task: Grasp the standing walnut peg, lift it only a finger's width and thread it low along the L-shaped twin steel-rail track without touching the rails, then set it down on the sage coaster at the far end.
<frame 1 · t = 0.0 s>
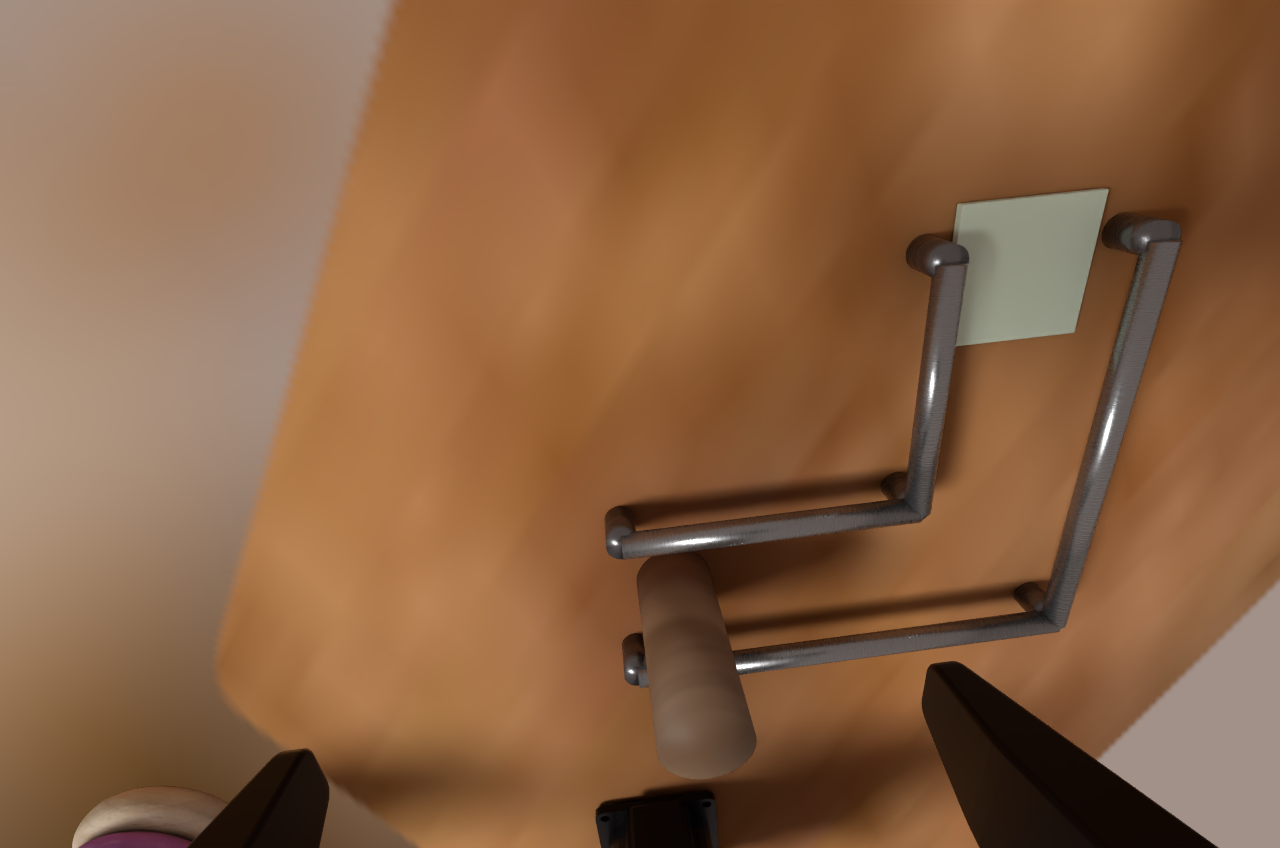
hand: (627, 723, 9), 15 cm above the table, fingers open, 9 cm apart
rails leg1: (831, 559, 27), on the table
walnut peg: (673, 579, 27), on the table
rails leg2: (996, 374, 24), on the table
sage coaster: (1016, 270, 22), on the table
stacking toy: (182, 822, 31), on the table
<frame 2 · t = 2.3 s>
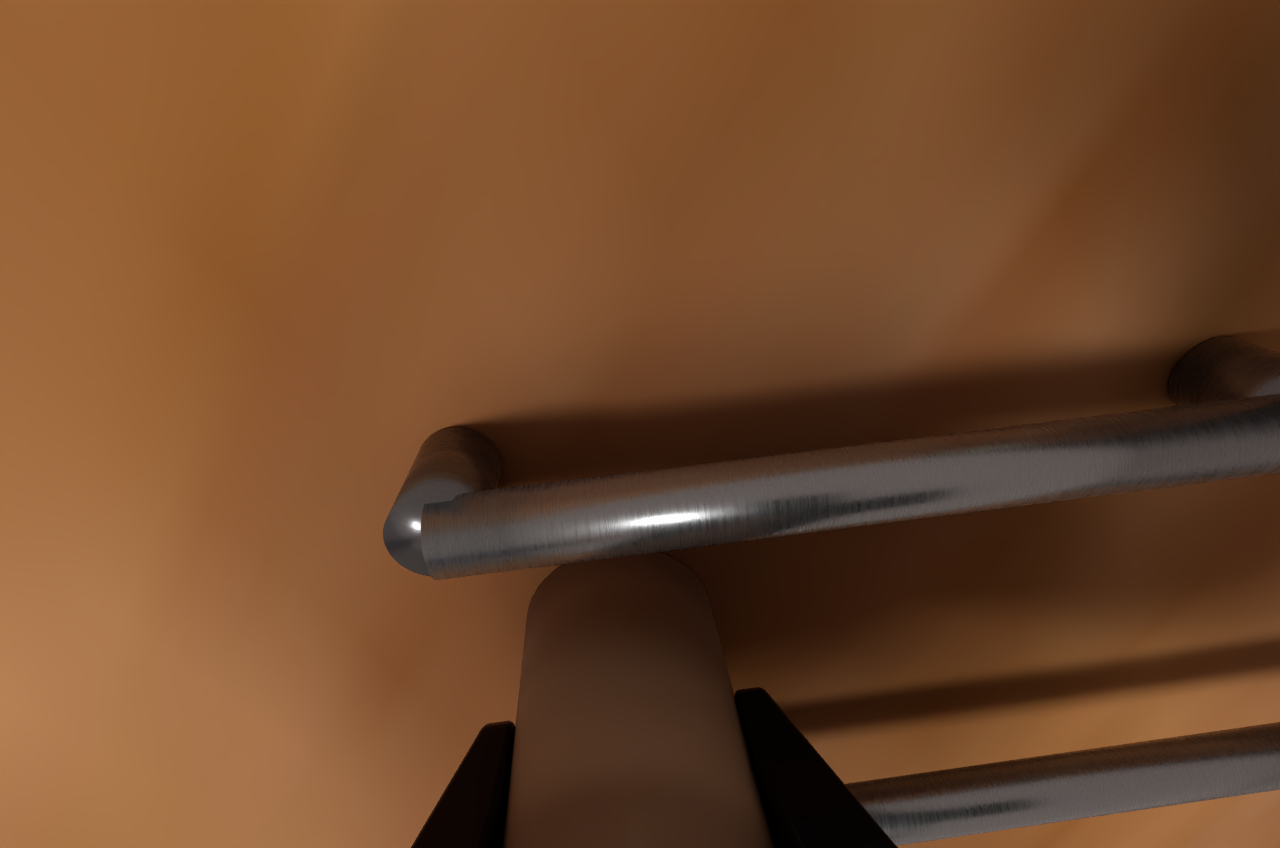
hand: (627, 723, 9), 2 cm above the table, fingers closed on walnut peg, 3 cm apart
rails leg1: (1008, 570, 11), on the table
walnut peg: (619, 620, 11), on the table, touching gripper
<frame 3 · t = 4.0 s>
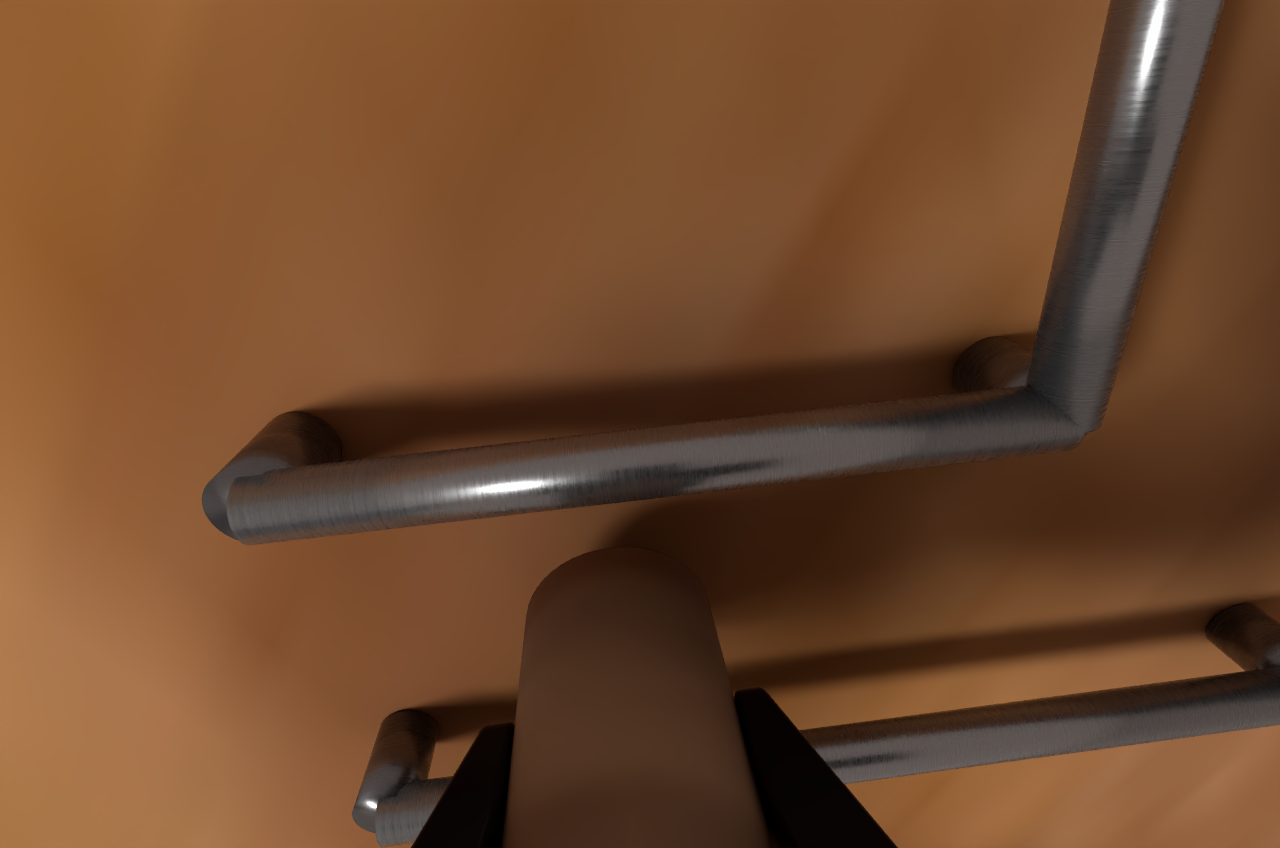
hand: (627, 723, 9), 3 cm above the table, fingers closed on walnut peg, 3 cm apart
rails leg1: (830, 550, 12), on the table
walnut peg: (618, 620, 11), point 1 cm above the table, touching gripper
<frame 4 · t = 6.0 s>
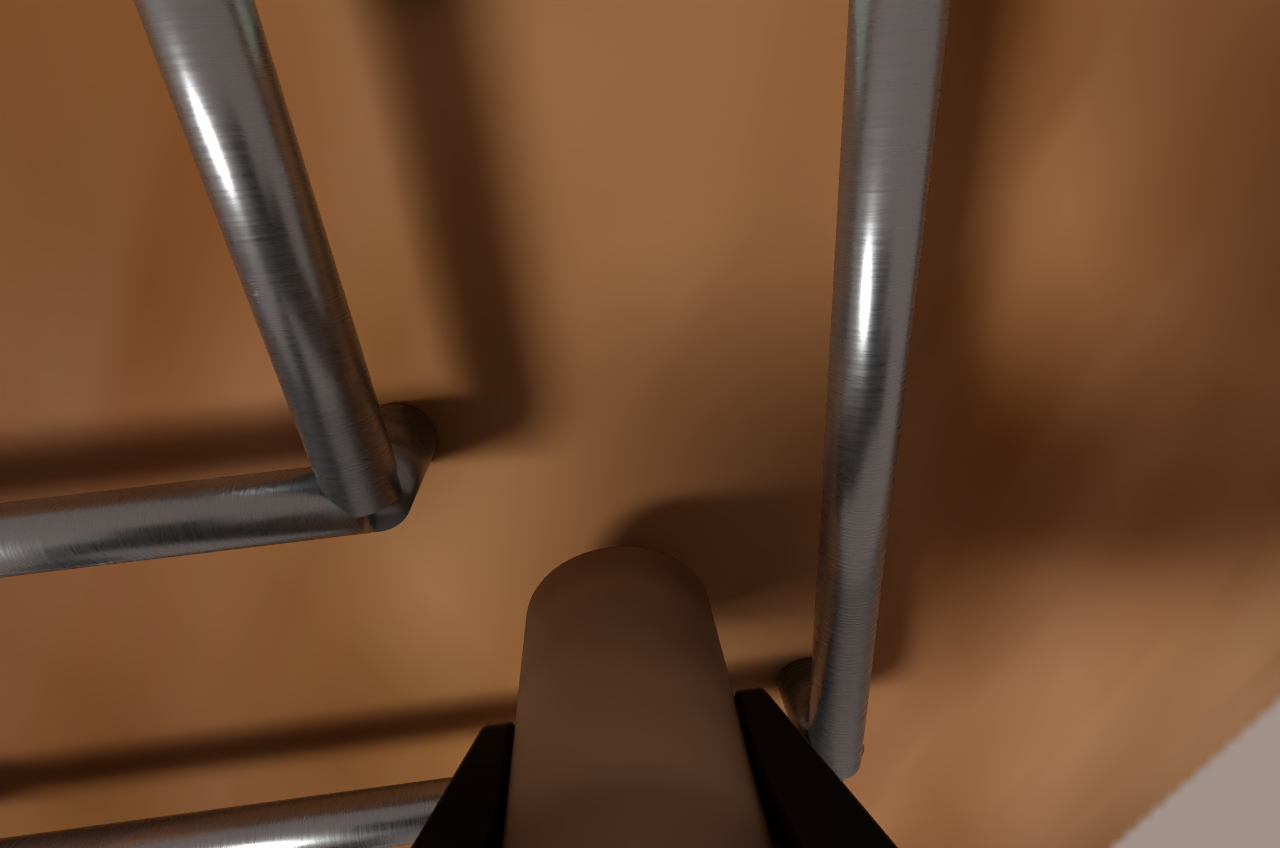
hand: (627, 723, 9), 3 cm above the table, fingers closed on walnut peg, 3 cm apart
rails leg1: (315, 614, 12), on the table
walnut peg: (619, 620, 11), point 1 cm above the table, touching gripper
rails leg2: (575, 110, 8), on the table
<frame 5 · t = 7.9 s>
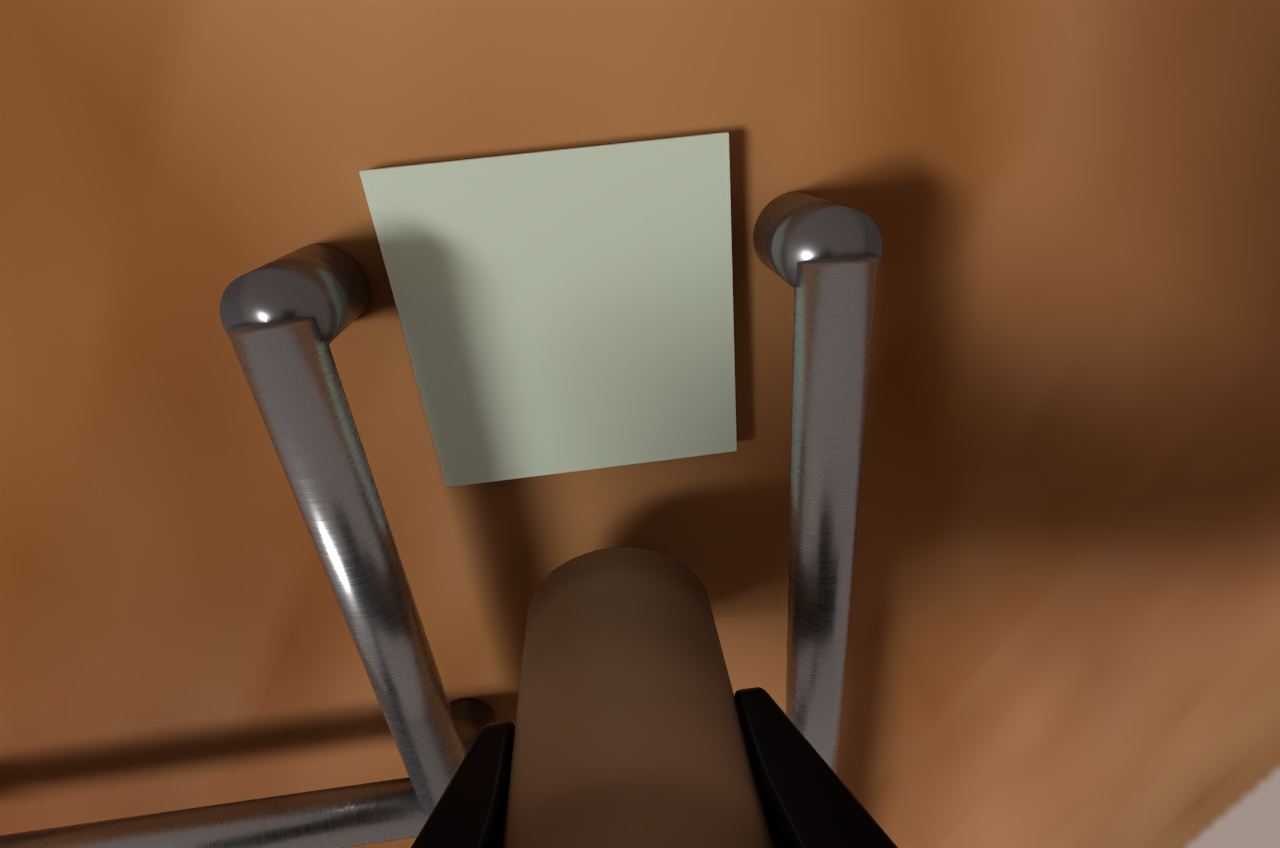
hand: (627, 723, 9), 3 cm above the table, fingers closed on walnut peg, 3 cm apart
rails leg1: (394, 831, 15), on the table
walnut peg: (619, 621, 11), point 1 cm above the table, touching gripper
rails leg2: (602, 529, 12), on the table
sage coaster: (572, 323, 10), on the table
when the fingers open (3 cm above the table, at t = 9.8 s): walnut peg stays where it is, resting on sage coaster.
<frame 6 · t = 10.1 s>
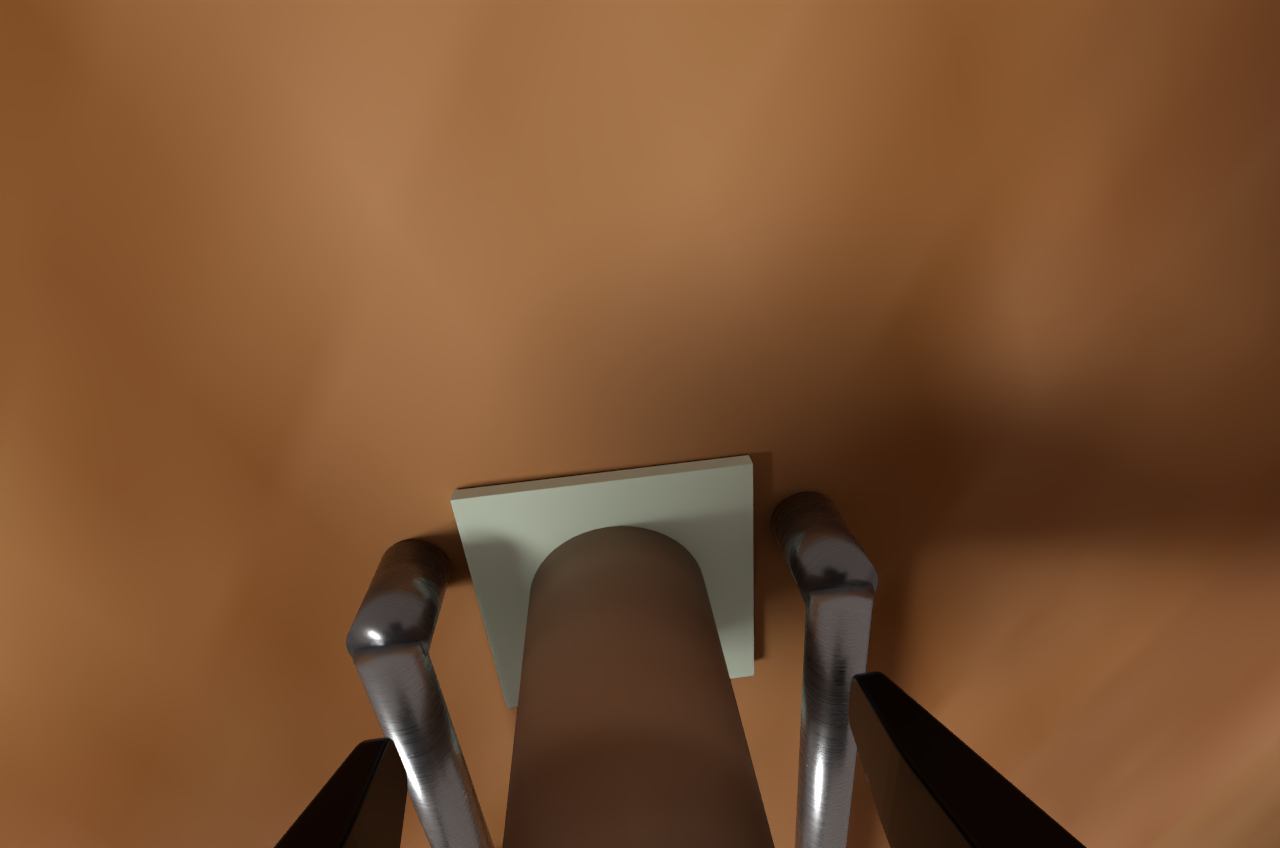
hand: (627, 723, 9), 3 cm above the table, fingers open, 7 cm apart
walnut peg: (618, 597, 11), resting on sage coaster
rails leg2: (636, 727, 13), on the table
sage coaster: (617, 586, 12), on the table
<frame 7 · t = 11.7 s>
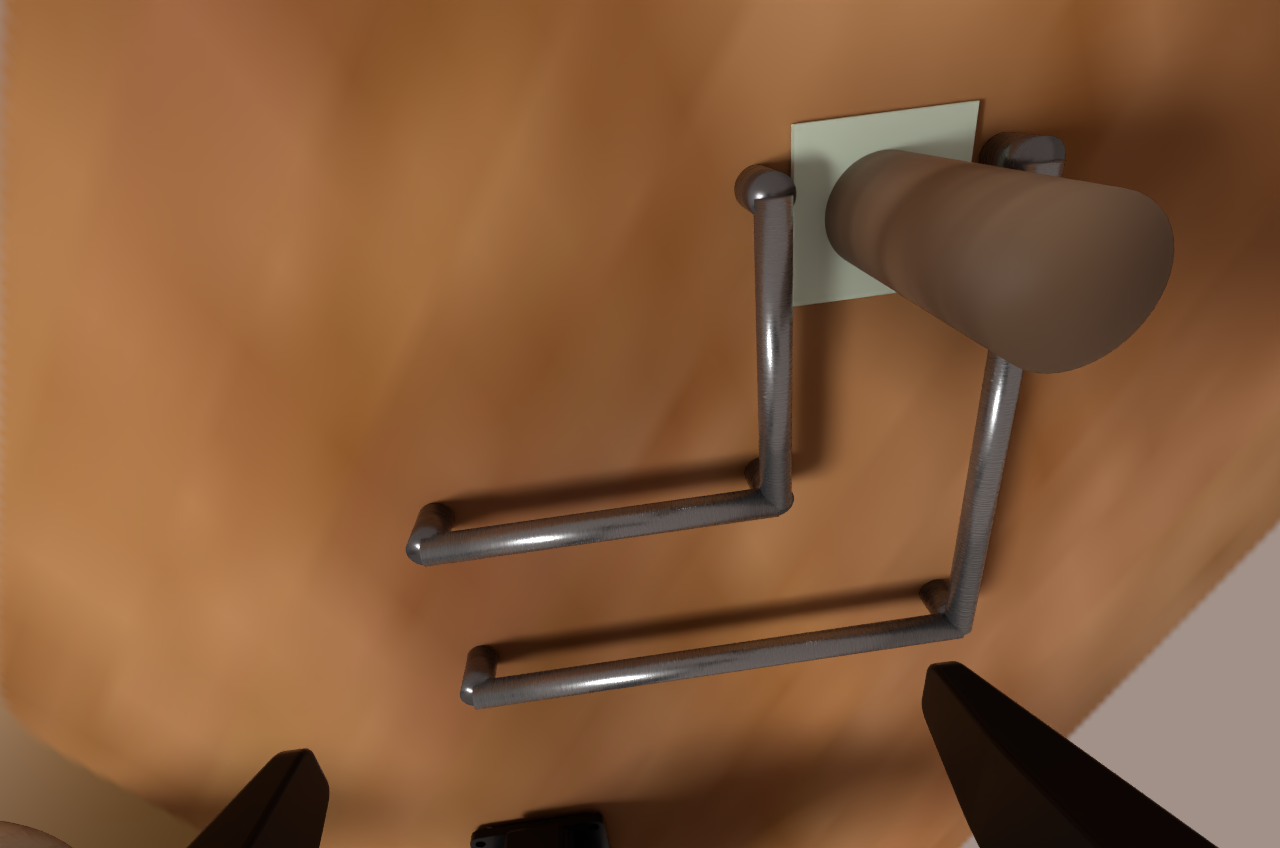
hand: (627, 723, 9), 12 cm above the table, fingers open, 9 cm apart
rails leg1: (698, 558, 23), on the table
walnut peg: (880, 210, 18), resting on sage coaster
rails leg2: (867, 338, 20), on the table
sage coaster: (876, 208, 18), on the table
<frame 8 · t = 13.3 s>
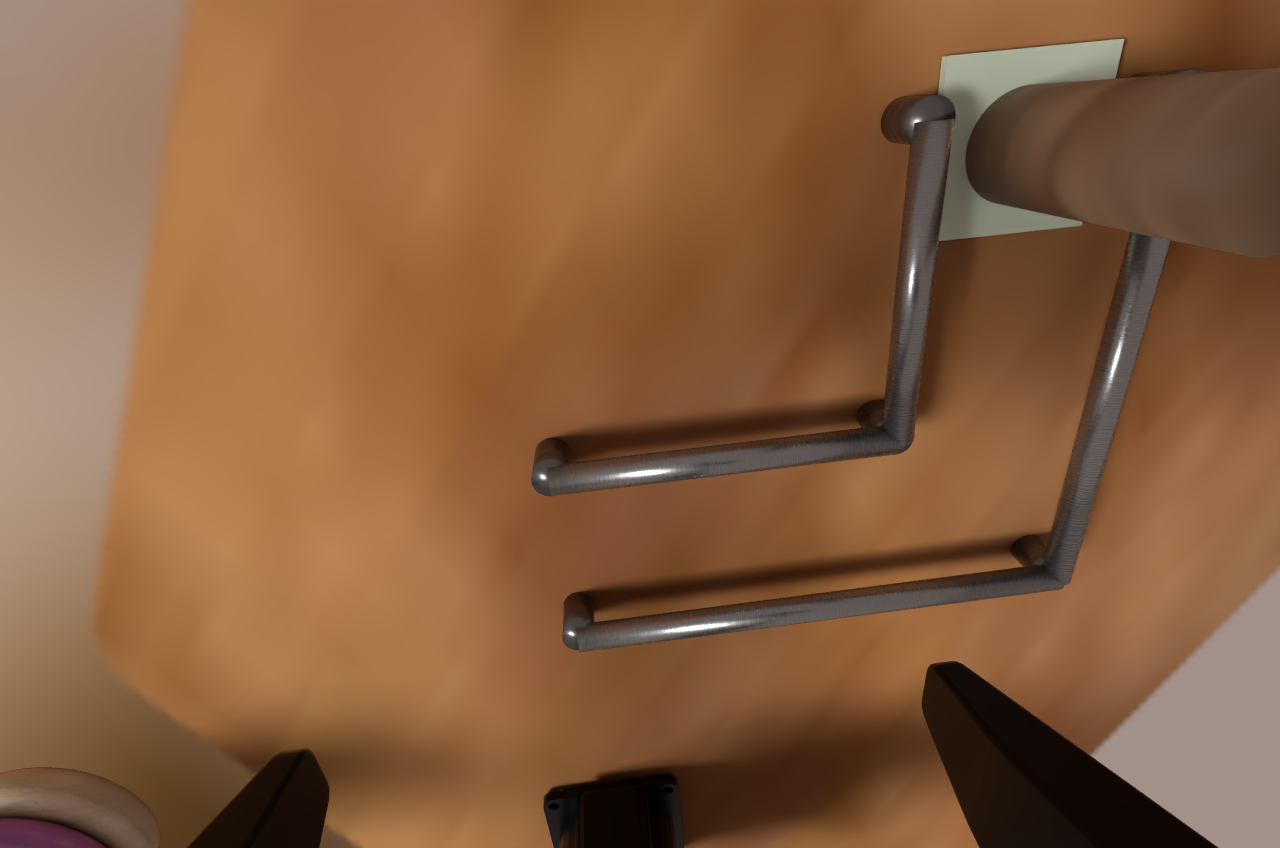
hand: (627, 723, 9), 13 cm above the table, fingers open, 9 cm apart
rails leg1: (801, 505, 24), on the table
walnut peg: (1019, 146, 18), resting on sage coaster
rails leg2: (990, 279, 20), on the table
sage coaster: (1013, 145, 18), on the table
stacking toy: (75, 810, 28), on the table
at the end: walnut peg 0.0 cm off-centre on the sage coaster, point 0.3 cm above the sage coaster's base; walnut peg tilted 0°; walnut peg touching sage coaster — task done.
